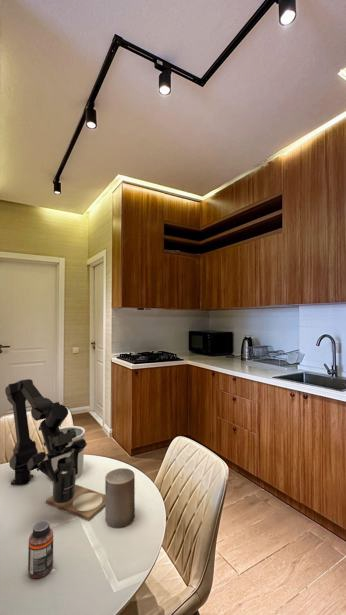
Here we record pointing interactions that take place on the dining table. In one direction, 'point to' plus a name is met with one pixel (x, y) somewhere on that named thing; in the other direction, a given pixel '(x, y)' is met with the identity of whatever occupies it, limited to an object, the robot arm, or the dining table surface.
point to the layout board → (81, 503)
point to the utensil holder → (79, 435)
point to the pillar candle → (119, 497)
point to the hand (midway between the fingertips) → (66, 478)
